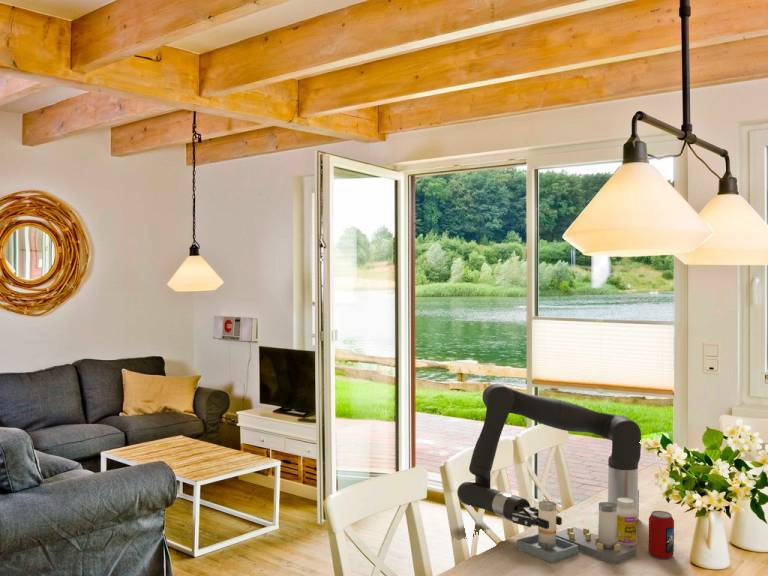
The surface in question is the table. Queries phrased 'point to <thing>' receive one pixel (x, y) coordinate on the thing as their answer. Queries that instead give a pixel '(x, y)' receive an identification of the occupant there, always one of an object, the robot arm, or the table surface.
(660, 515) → the beverage can
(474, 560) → the table surface
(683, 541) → the table surface
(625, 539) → the supplement bottle
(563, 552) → the tray
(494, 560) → the table surface
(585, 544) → the block
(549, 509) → the marked fuse
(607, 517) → the cylinder
